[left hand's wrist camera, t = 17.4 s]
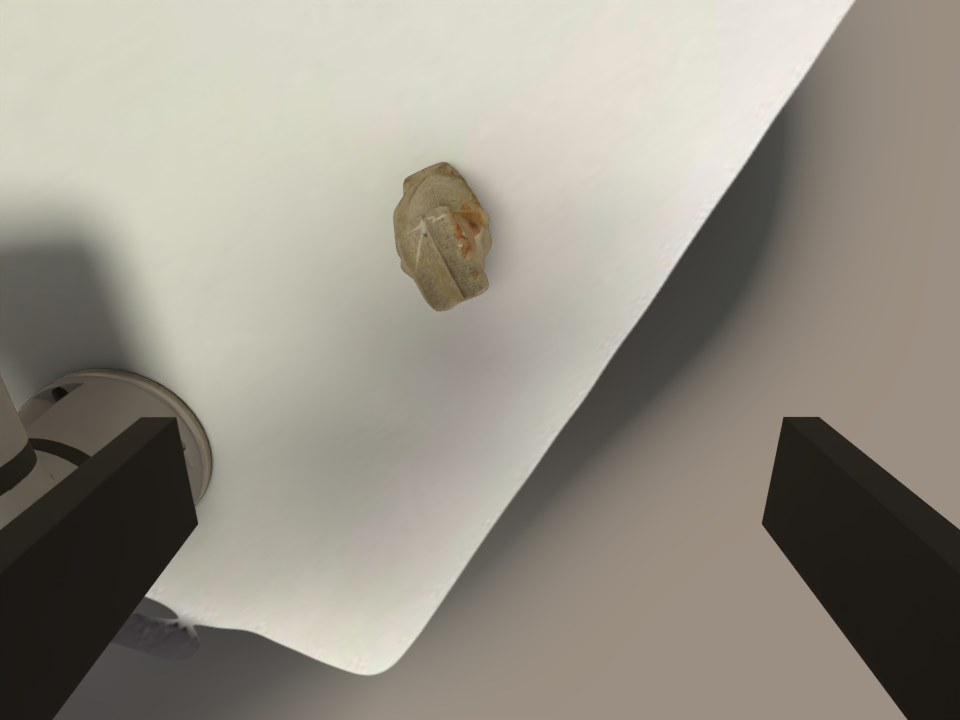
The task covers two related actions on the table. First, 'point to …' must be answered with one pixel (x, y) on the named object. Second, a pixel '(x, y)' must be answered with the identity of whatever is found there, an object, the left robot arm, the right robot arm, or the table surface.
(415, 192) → the sculpture
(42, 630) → the left robot arm
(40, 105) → the table surface
